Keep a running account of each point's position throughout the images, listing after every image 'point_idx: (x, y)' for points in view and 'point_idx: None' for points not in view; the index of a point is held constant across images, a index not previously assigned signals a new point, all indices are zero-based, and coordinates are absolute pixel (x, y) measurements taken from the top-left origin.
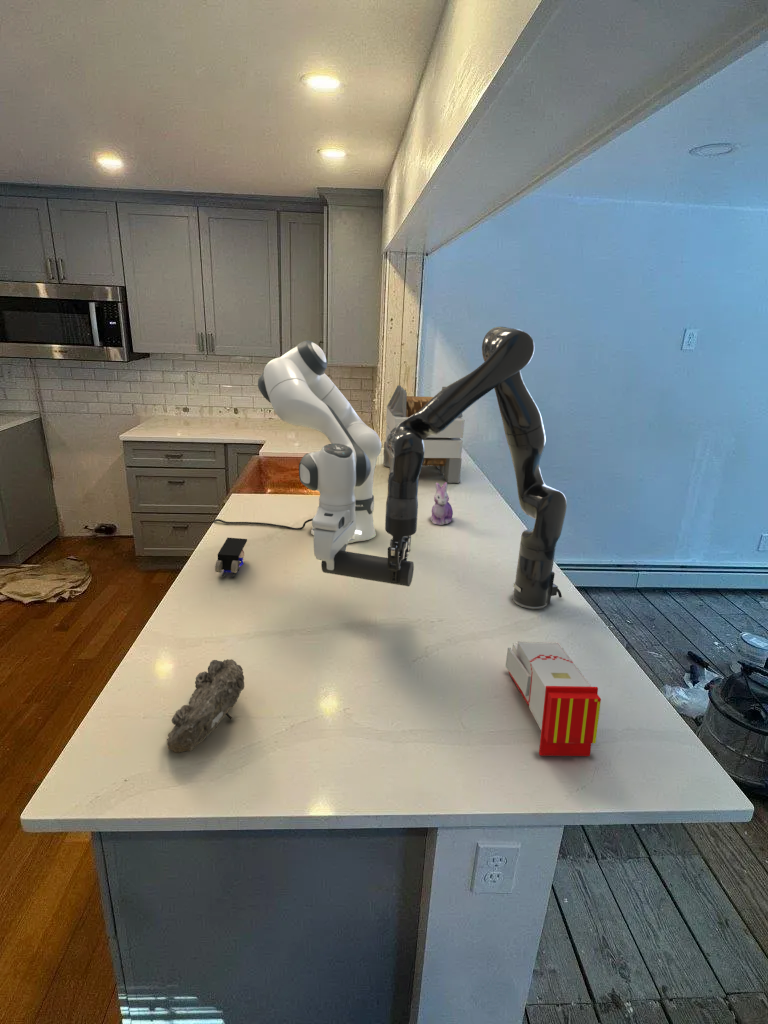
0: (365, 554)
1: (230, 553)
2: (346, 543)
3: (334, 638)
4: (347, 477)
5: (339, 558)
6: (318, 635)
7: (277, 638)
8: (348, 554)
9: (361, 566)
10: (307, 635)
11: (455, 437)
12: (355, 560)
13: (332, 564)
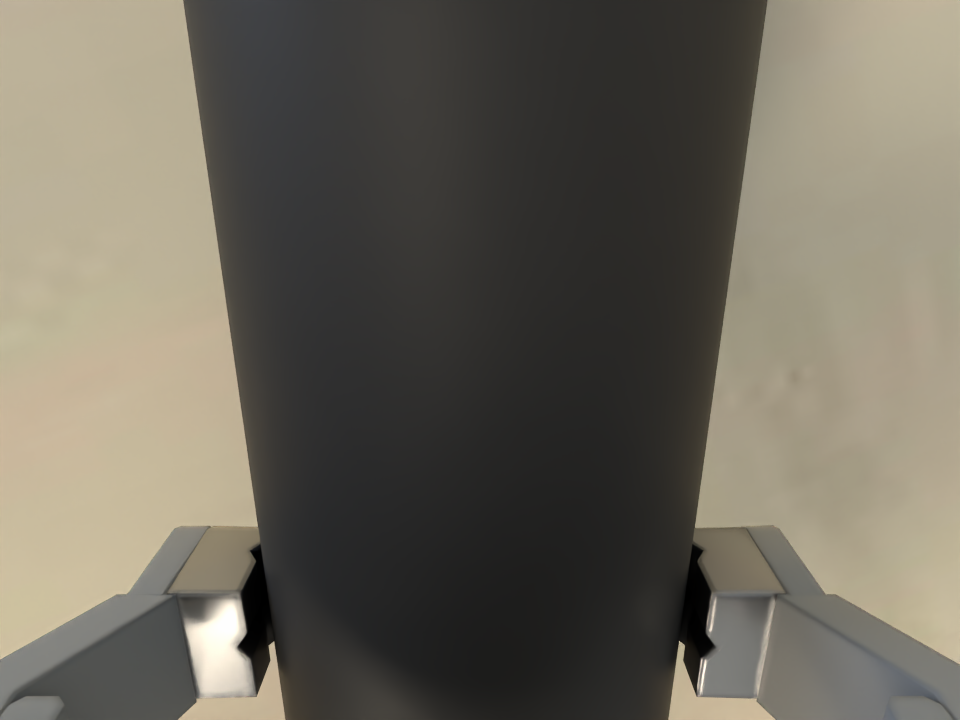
0: (353, 22)
1: None
2: (35, 713)
3: (856, 179)
4: None
5: (661, 581)
6: (834, 300)
7: (908, 513)
8: (548, 479)
9: (760, 17)
10: (846, 367)
11: None
12: (690, 225)
13: (815, 601)
